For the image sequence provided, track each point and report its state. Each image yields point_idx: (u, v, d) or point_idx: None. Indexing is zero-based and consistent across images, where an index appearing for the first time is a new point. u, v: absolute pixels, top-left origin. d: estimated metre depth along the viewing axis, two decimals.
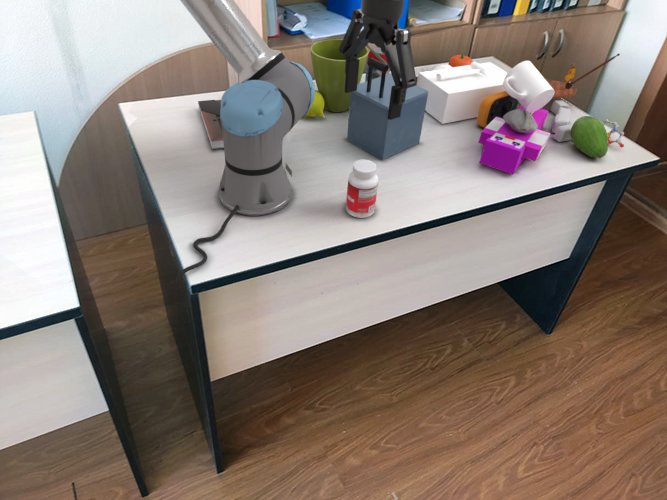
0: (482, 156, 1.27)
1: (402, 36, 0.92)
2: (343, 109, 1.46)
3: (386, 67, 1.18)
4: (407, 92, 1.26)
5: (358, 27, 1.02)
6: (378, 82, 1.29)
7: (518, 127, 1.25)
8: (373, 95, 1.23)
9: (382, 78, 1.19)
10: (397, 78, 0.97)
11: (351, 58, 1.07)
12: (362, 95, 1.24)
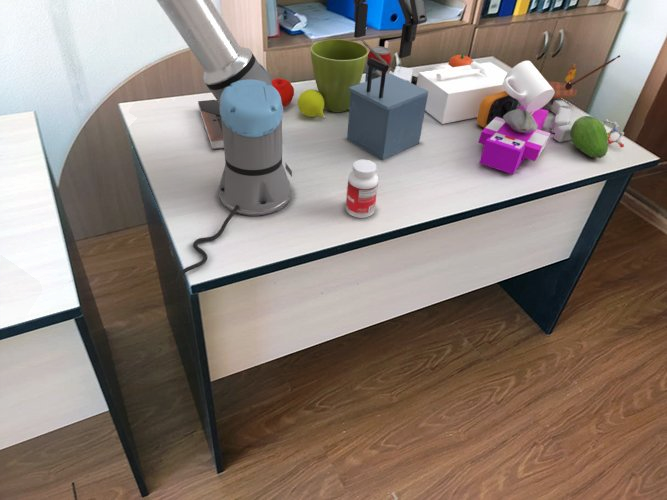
0: (482, 156, 1.27)
1: None
2: (343, 109, 1.46)
3: (386, 67, 1.18)
4: (407, 92, 1.26)
5: None
6: (378, 82, 1.29)
7: (518, 127, 1.25)
8: (373, 95, 1.23)
9: (382, 78, 1.19)
10: (408, 15, 1.03)
11: (360, 3, 1.12)
12: (362, 95, 1.24)
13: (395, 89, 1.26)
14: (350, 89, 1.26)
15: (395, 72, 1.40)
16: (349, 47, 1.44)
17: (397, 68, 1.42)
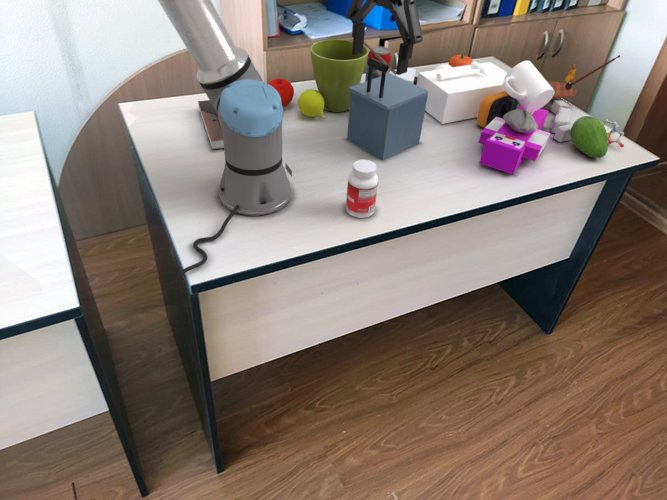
0: (482, 156, 1.27)
1: None
2: (343, 109, 1.46)
3: (386, 67, 1.18)
4: (407, 92, 1.26)
5: None
6: (378, 82, 1.29)
7: (518, 127, 1.25)
8: (373, 95, 1.23)
9: (382, 78, 1.19)
10: (405, 35, 1.09)
11: (358, 22, 1.18)
12: (362, 95, 1.24)
13: (395, 89, 1.26)
14: (350, 89, 1.26)
15: None
16: (349, 47, 1.44)
17: None
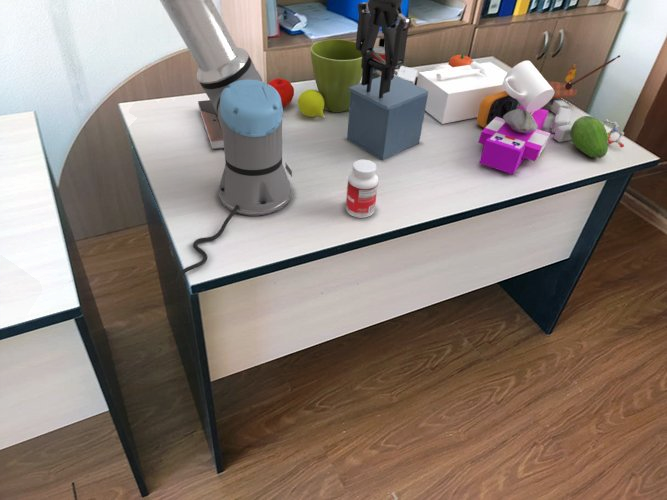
0: (482, 156, 1.27)
1: (404, 25, 1.08)
2: (343, 109, 1.46)
3: None
4: (407, 92, 1.26)
5: (366, 19, 1.16)
6: (378, 82, 1.29)
7: (518, 127, 1.25)
8: (373, 95, 1.23)
9: None
10: (389, 58, 1.14)
11: (367, 54, 1.20)
12: (362, 95, 1.24)
13: (395, 89, 1.26)
14: (350, 89, 1.26)
15: (399, 72, 1.40)
16: (349, 47, 1.44)
17: (402, 68, 1.42)
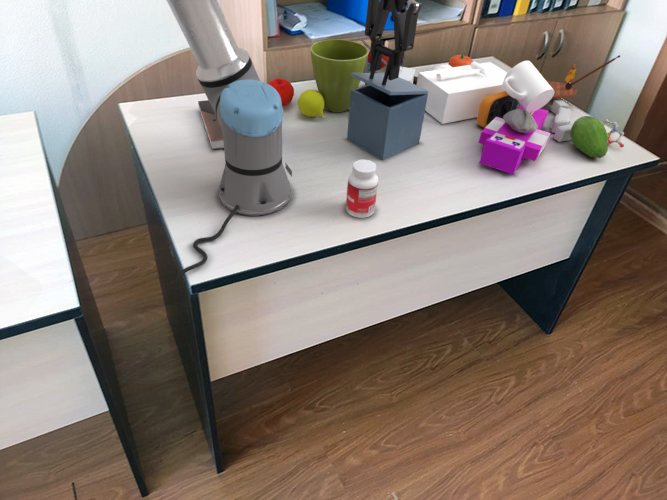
0: (482, 156, 1.27)
1: (414, 9, 1.08)
2: (343, 109, 1.46)
3: None
4: (408, 87, 1.25)
5: (376, 4, 1.16)
6: (380, 75, 1.28)
7: (518, 127, 1.25)
8: (376, 82, 1.21)
9: (388, 64, 1.18)
10: (398, 43, 1.14)
11: (376, 40, 1.19)
12: (365, 80, 1.22)
13: (397, 83, 1.26)
14: (353, 74, 1.24)
15: None
16: (349, 47, 1.44)
17: None
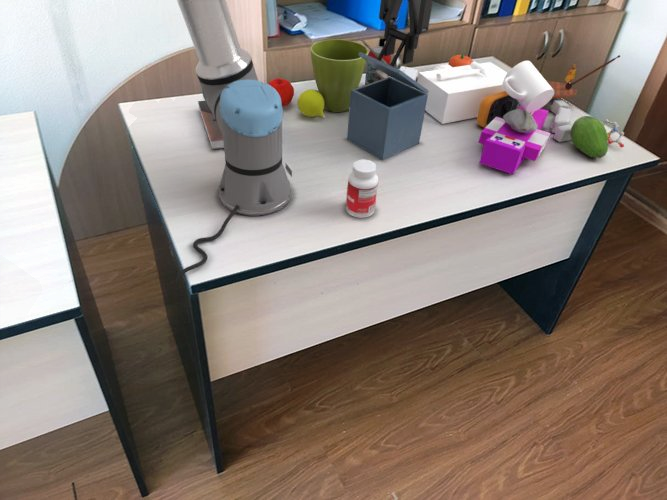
0: (482, 156, 1.27)
1: None
2: (343, 109, 1.46)
3: None
4: None
5: None
6: None
7: (518, 127, 1.25)
8: None
9: (400, 47, 1.18)
10: (413, 27, 1.15)
11: (391, 24, 1.20)
12: (373, 59, 1.20)
13: None
14: (360, 53, 1.22)
15: None
16: (349, 47, 1.44)
17: (402, 68, 1.42)
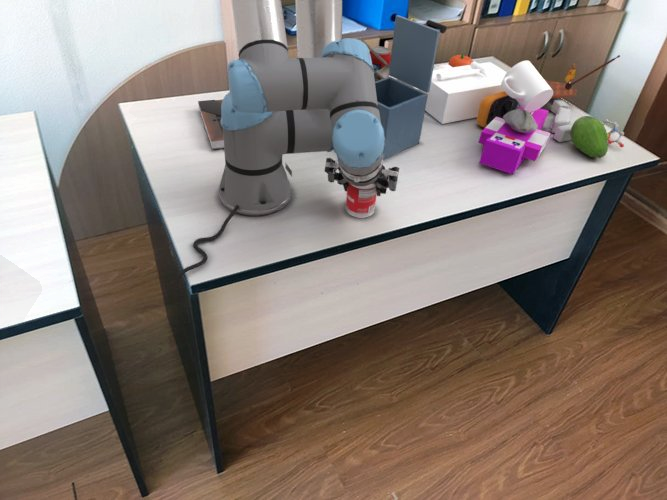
0: (482, 156, 1.27)
1: None
2: None
3: (445, 29, 1.25)
4: None
5: None
6: None
7: (518, 127, 1.25)
8: None
9: (437, 29, 1.24)
10: None
11: None
12: None
13: None
14: None
15: None
16: None
17: None
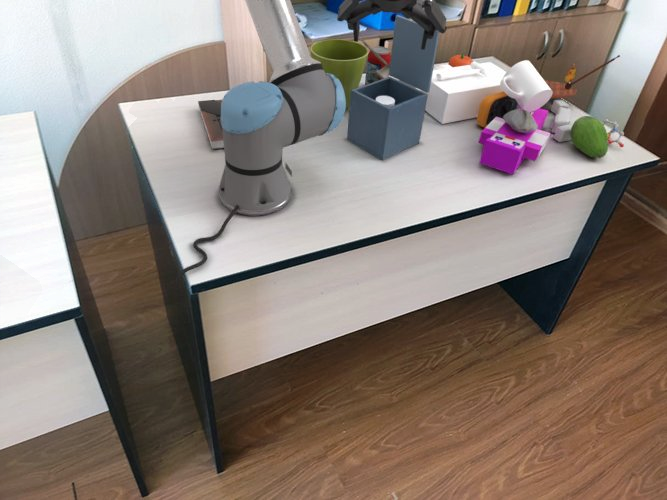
0: (482, 156, 1.27)
1: None
2: None
3: (445, 29, 1.25)
4: None
5: None
6: None
7: (518, 127, 1.25)
8: None
9: None
10: None
11: None
12: None
13: None
14: None
15: None
16: (349, 47, 1.44)
17: None
